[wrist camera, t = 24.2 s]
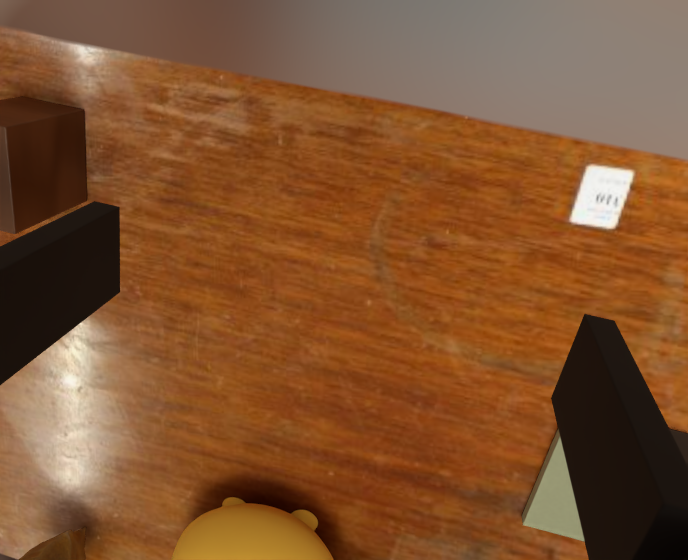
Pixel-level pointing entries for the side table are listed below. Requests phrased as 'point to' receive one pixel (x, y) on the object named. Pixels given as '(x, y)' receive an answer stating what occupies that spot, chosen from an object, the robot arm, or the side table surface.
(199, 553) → the teapot
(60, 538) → the decorative stone
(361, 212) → the side table surface
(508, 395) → the side table surface
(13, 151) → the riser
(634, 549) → the robot arm
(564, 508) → the base mat
